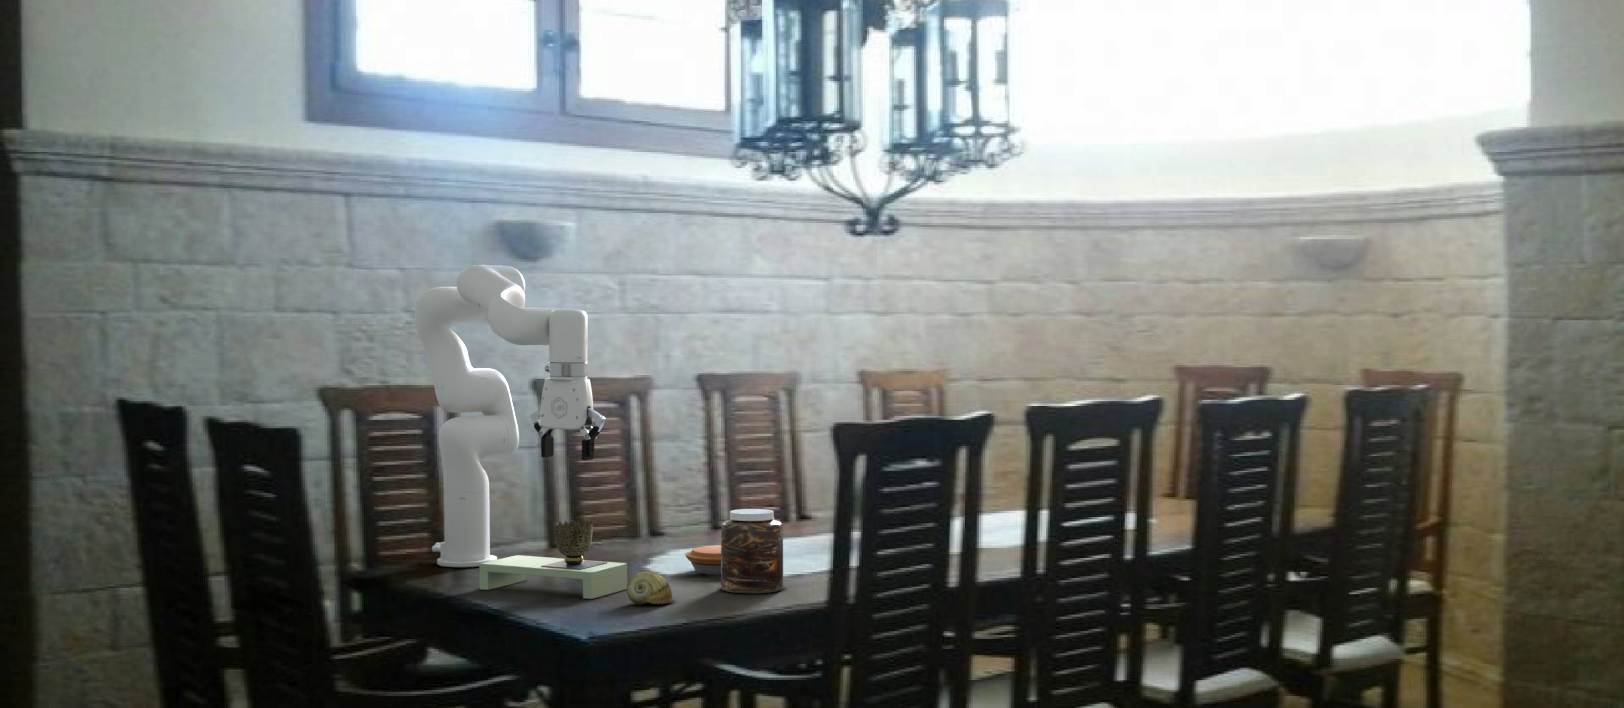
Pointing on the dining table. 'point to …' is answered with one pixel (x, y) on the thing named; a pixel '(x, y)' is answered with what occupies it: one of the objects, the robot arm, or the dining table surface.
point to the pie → (706, 559)
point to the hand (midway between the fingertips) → (567, 458)
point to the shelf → (555, 573)
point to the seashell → (649, 589)
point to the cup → (573, 540)
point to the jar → (752, 552)
